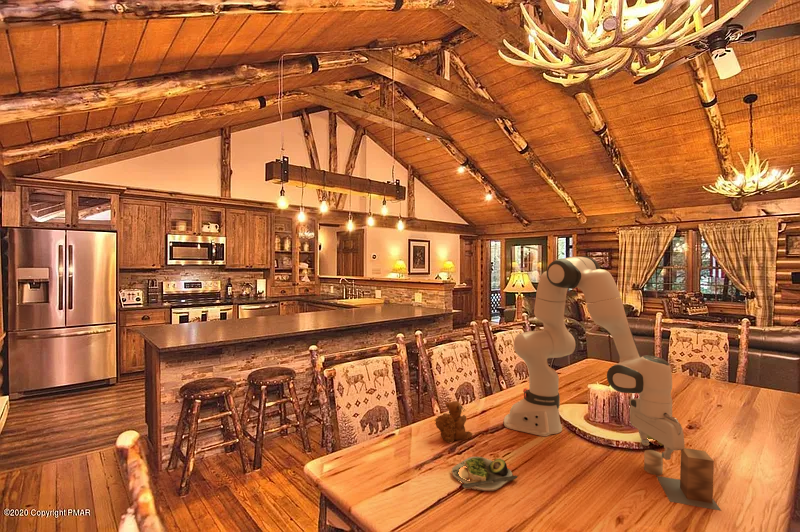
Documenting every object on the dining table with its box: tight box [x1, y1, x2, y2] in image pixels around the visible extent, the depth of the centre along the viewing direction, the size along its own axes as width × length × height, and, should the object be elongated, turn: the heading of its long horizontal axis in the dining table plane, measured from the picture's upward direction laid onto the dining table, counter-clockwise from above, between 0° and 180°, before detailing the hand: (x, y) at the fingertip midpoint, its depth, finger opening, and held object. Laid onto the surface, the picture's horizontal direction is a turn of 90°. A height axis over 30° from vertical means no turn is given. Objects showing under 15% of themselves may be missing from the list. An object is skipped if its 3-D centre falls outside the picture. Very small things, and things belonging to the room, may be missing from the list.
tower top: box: [680, 447, 715, 483], centre depth 115 cm, size 6×6×6 cm
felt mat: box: [655, 475, 722, 512], centre depth 116 cm, size 12×14×1 cm
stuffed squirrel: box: [434, 400, 473, 443], centre depth 150 cm, size 10×14×13 cm
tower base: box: [679, 467, 714, 503], centre depth 115 cm, size 6×6×6 cm
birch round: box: [643, 449, 664, 476], centre depth 128 cm, size 5×5×6 cm
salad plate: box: [451, 456, 518, 492], centre depth 123 cm, size 19×18×5 cm
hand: (655, 451), depth 127 cm, fingers open, 8 cm apart
